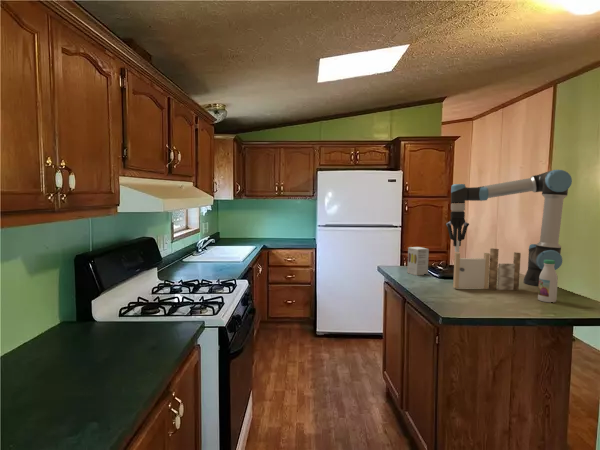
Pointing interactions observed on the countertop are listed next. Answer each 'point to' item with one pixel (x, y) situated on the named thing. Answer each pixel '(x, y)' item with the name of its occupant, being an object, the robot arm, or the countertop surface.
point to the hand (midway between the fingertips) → (456, 251)
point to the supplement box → (418, 260)
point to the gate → (471, 272)
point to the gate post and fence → (503, 272)
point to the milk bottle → (548, 282)
